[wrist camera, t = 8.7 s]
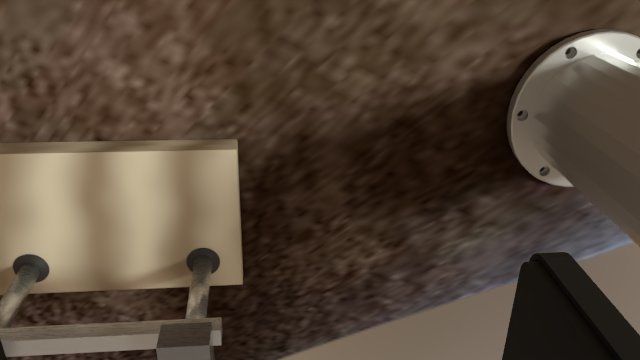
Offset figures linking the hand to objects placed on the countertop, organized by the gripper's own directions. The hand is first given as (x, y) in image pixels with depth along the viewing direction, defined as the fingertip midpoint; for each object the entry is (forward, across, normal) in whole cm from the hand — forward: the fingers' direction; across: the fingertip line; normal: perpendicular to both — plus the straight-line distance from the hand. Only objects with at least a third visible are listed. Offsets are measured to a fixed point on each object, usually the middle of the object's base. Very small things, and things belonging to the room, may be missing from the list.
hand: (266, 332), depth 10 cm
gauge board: (+32, +12, +15) cm, 38 cm away
